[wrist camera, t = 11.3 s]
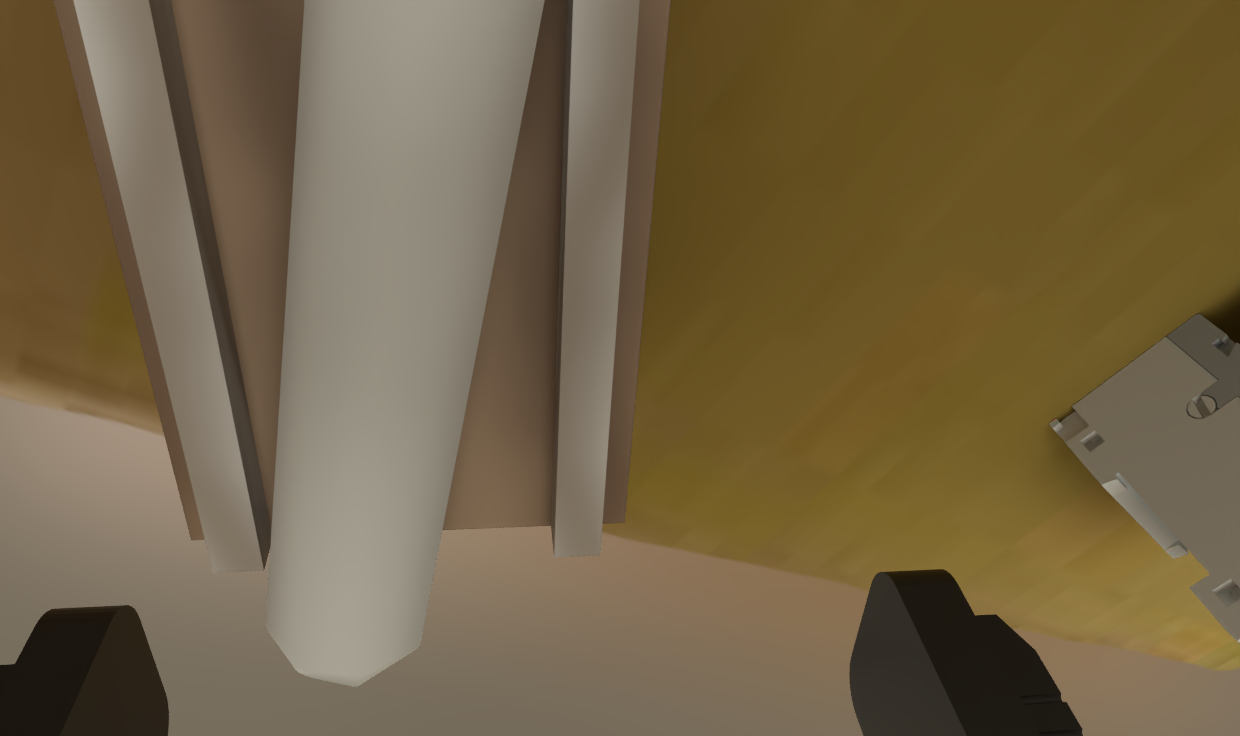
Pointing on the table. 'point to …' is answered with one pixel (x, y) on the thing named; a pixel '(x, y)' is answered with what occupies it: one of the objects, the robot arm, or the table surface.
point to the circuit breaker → (1174, 452)
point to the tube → (385, 309)
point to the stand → (259, 249)
